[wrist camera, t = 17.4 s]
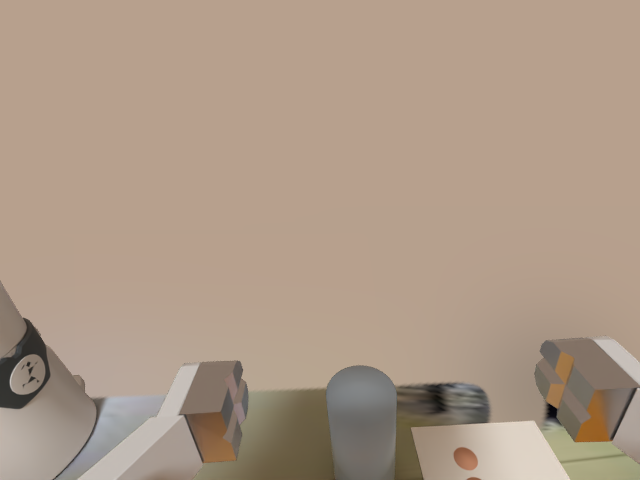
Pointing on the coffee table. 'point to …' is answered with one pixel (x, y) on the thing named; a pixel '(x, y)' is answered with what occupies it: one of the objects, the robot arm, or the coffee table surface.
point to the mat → (486, 452)
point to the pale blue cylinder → (362, 424)
